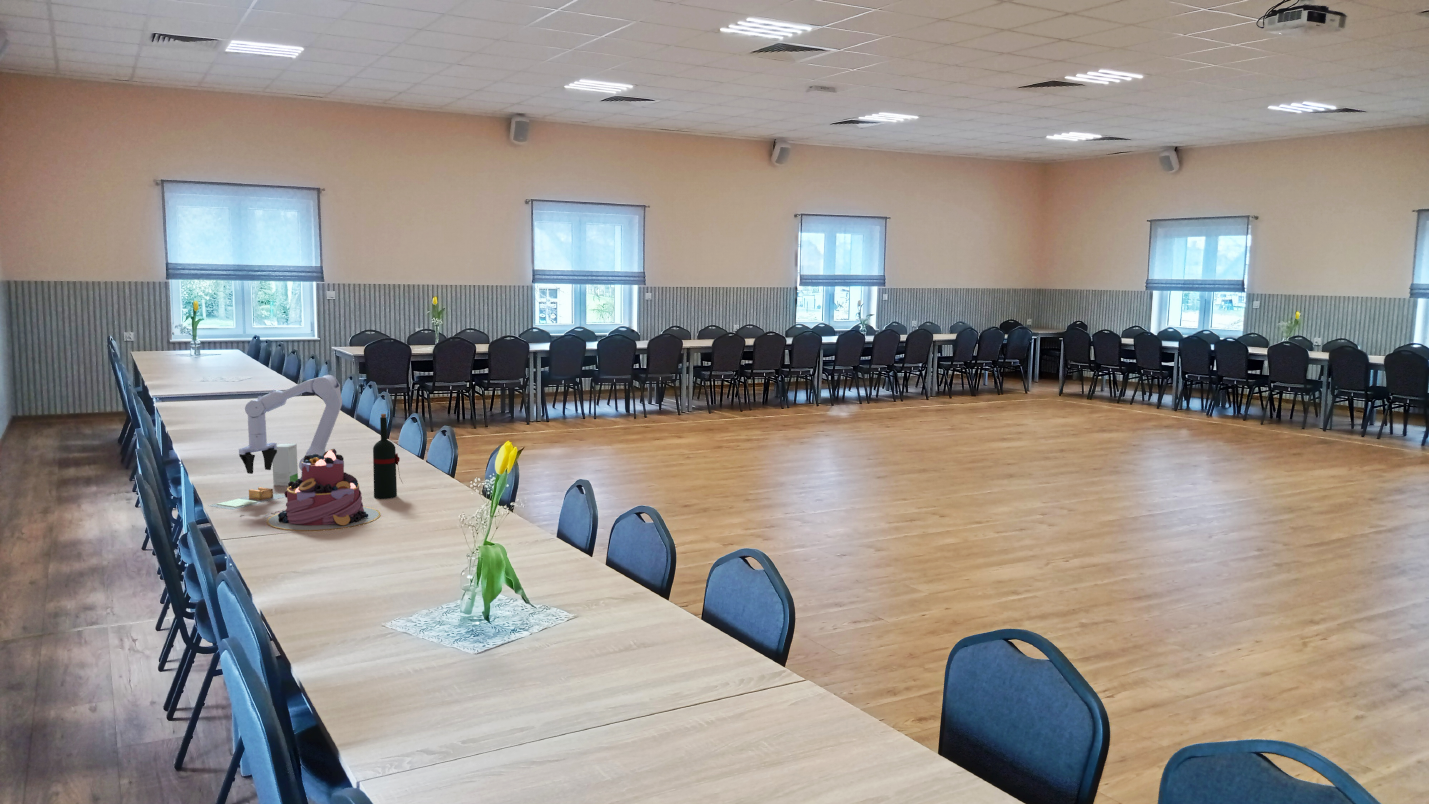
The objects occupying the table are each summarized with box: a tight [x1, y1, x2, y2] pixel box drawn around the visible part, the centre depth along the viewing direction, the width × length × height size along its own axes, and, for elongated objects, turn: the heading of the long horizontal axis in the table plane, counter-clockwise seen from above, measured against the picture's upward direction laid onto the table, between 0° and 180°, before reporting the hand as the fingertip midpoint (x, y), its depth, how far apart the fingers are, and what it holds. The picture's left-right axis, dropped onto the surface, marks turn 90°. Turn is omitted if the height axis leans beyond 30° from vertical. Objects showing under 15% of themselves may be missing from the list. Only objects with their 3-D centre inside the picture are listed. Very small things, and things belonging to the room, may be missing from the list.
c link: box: [248, 486, 274, 500], centre depth 359 cm, size 6×5×3 cm
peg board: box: [207, 493, 286, 510], centre depth 355 cm, size 12×24×3 cm, turn 156°
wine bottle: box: [372, 413, 404, 500], centre depth 367 cm, size 8×10×30 cm
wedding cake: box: [266, 448, 381, 532], centre depth 335 cm, size 35×35×23 cm
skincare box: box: [272, 443, 299, 487], centre depth 383 cm, size 8×7×16 cm
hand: (259, 471), depth 363 cm, fingers open, 7 cm apart
